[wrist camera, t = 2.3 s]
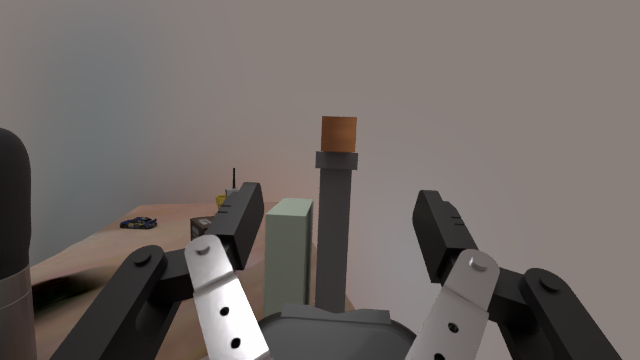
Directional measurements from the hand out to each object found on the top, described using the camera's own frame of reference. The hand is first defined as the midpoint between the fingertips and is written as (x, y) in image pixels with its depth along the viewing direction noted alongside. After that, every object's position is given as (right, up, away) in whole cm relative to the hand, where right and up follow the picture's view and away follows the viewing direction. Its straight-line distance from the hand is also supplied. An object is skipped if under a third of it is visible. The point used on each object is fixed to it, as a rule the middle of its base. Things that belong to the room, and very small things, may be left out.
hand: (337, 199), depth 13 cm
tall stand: (0, -27, +27) cm, 38 cm away
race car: (-74, -18, +88) cm, 116 cm away
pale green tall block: (-6, -27, +27) cm, 38 cm away
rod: (+1, +5, +21) cm, 22 cm away
